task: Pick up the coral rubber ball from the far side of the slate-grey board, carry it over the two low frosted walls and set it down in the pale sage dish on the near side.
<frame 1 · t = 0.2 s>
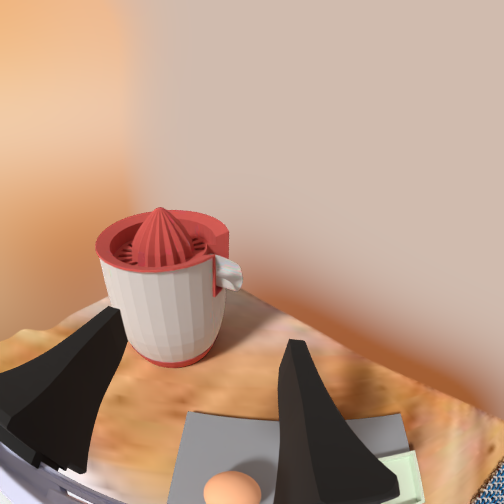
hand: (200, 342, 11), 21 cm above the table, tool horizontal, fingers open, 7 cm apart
citrus juicer: (179, 341, 37), on the table
grey ridged board: (302, 500, 17), on the table
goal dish: (386, 487, 17), resting on grey ridged board
ball: (232, 494, 16), point 3 cm above the table, touching grey ridged board
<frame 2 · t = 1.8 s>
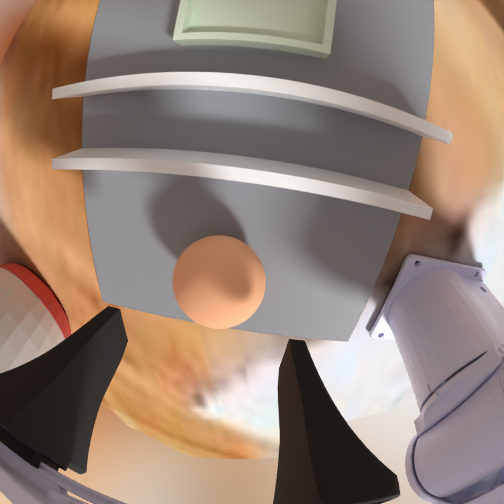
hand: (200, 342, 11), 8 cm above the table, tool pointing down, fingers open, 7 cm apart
citrus juicer: (34, 297, 23), on the table
grey ridged board: (240, 140, 14), on the table
ball: (218, 282, 15), point 3 cm above the table, touching grey ridged board
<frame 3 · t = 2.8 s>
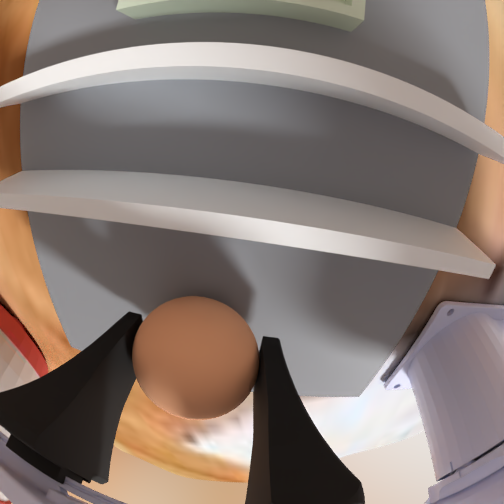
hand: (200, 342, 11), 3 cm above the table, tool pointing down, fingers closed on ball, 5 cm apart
citrus juicer: (8, 327, 18), on the table
grey ridged board: (222, 154, 9), on the table
ball: (195, 358, 10), point 3 cm above the table, touching grey ridged board, gripper
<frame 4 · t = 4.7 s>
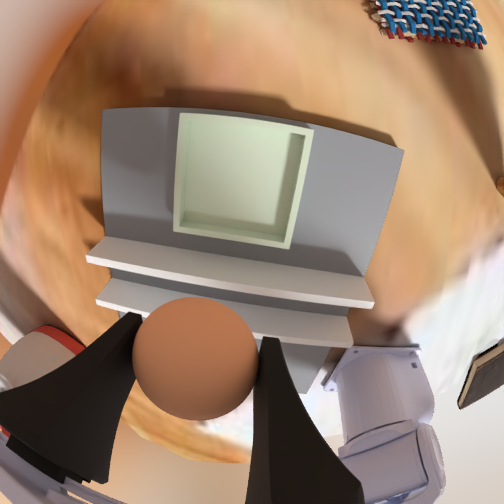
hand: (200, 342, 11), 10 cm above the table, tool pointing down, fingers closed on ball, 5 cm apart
citrus juicer: (68, 348, 30), on the table
ice cream cone: (501, 182, 15), on the table
grey ridged board: (227, 285, 22), on the table
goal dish: (239, 176, 16), resting on grey ridged board
ball: (195, 359, 10), point 11 cm above the table, touching gripper
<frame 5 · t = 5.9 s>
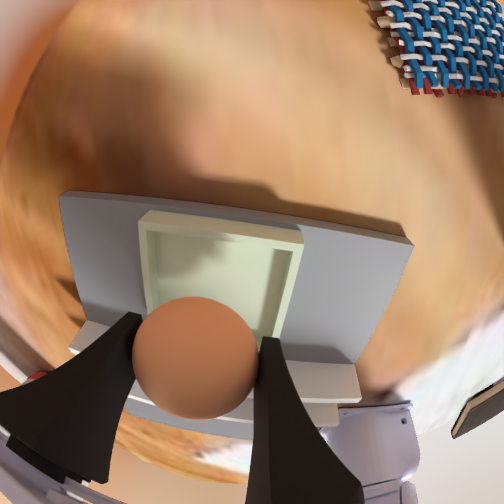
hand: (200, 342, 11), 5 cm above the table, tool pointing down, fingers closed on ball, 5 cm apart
woven mat: (440, 14, 7), on the table
grey ridged board: (214, 366, 20), on the table
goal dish: (217, 283, 14), resting on grey ridged board
ball: (195, 359, 10), point 6 cm above the table, touching gripper
when the fingers open (4 cm above the table, at t = 6.7 s): ball stays where it is, resting on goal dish.
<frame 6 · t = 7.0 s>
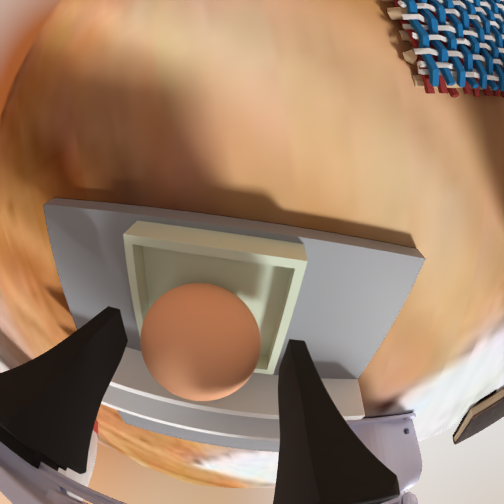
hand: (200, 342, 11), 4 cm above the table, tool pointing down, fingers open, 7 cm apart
citrus juicer: (63, 398, 27), on the table
woven mat: (452, 9, 6), on the table
grey ridged board: (211, 380, 19), on the table
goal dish: (212, 299, 13), resting on grey ridged board
ball: (200, 342, 11), point 4 cm above the table, touching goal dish
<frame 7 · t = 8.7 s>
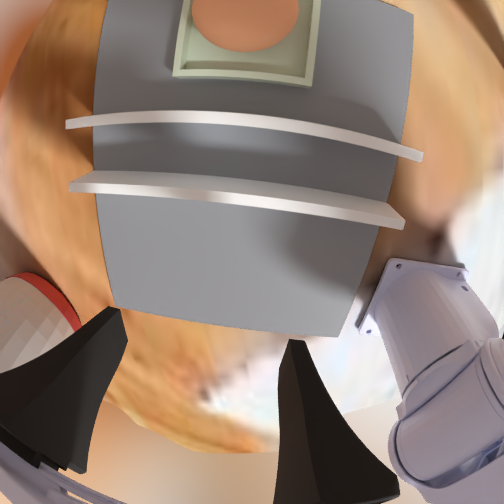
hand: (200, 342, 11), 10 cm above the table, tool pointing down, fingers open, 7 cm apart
citrus juicer: (47, 303, 25), on the table
grey ridged board: (235, 163, 16), on the table
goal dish: (249, 25, 11), resting on grey ridged board
ball: (245, 8, 9), point 4 cm above the table, touching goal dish
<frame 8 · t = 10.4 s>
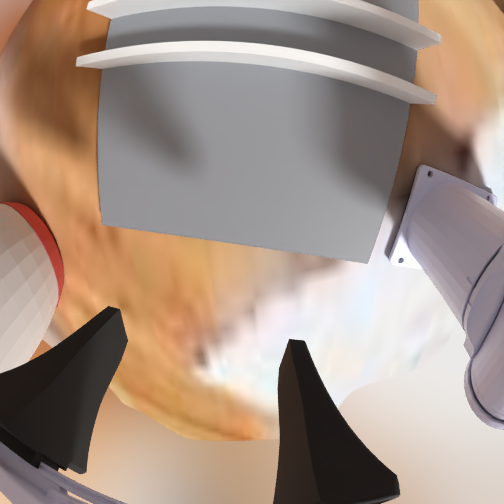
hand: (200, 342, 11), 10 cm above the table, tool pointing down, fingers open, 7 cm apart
citrus juicer: (29, 242, 21), on the table
grey ridged board: (255, 48, 13), on the table
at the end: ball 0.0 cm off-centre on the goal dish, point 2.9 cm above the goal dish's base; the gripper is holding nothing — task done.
